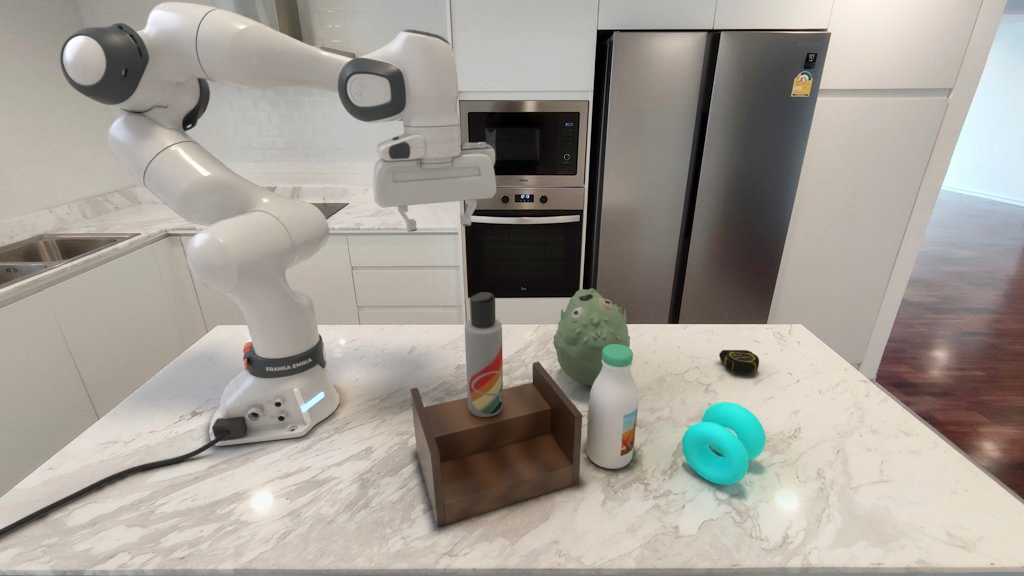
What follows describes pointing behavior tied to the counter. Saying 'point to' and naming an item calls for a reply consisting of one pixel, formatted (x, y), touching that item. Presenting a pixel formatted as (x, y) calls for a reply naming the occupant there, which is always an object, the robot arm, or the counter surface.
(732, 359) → the tape measure
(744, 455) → the turquoise yo-yo
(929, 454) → the counter surface
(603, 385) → the milk bottle
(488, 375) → the lotion bottle
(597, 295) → the green monster figurine
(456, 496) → the step rack
